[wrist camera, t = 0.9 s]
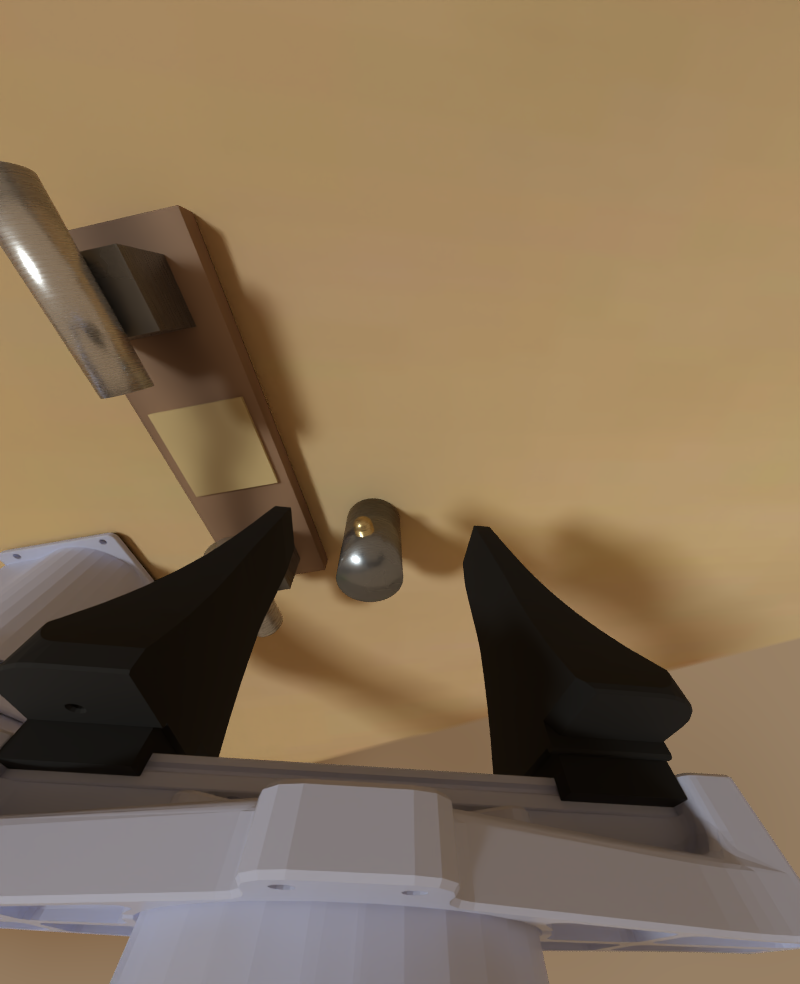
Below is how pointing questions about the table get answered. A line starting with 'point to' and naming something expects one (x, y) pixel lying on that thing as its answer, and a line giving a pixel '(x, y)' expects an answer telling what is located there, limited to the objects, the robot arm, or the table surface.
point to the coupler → (371, 552)
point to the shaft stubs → (97, 300)
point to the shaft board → (208, 392)
